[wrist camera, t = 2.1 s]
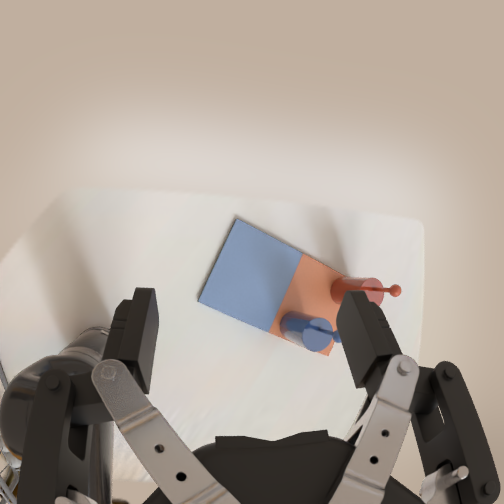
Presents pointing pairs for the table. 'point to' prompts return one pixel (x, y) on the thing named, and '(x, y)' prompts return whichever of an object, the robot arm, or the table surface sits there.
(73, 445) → the robot arm
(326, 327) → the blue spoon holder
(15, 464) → the newton's cradle
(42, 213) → the table surface
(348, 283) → the terracotta spoon holder
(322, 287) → the sorting board
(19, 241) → the table surface
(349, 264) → the table surface
